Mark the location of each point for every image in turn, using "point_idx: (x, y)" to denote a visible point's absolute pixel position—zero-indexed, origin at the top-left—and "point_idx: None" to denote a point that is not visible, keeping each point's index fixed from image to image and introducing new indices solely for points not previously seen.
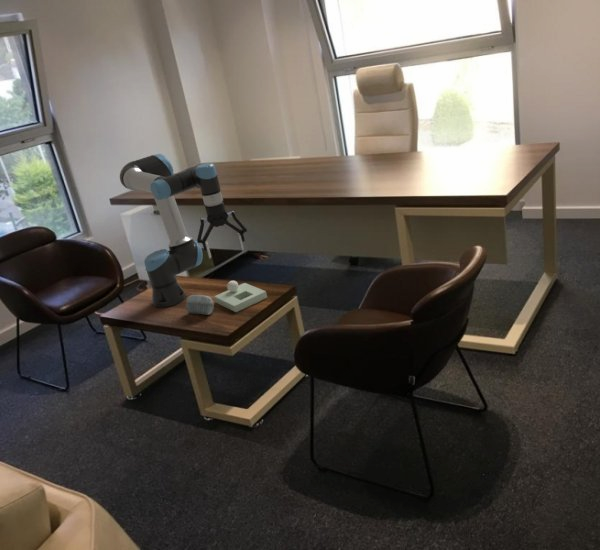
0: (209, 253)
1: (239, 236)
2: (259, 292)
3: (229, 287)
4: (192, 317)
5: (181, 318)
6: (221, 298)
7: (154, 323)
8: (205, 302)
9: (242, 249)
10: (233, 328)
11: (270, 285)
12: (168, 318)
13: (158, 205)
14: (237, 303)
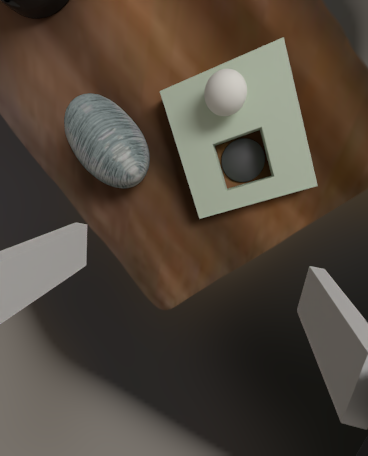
0: (62, 279)
1: (342, 410)
2: (295, 178)
3: (210, 108)
4: None
5: None
6: (177, 129)
7: (6, 118)
8: (118, 183)
9: (301, 315)
10: (176, 295)
11: (363, 84)
12: (37, 112)
13: None
14: (211, 208)
